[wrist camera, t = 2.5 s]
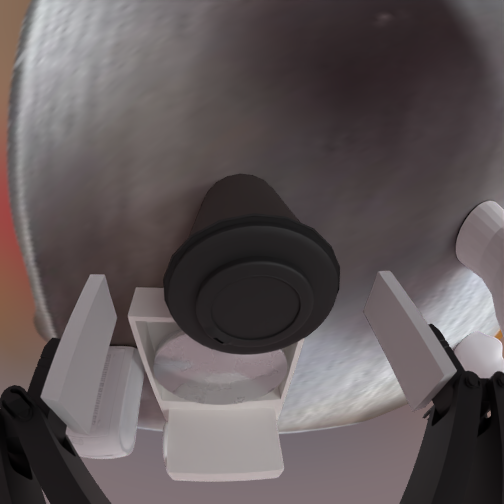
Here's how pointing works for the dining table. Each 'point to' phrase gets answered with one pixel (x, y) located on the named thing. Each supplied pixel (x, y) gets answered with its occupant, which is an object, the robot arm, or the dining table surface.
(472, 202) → the dining table surface
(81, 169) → the dining table surface
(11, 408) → the robot arm
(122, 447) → the photo printer
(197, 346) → the pan
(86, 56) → the dining table surface
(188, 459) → the base
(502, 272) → the cup
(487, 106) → the dining table surface
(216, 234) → the coffee cup
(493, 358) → the figurine
